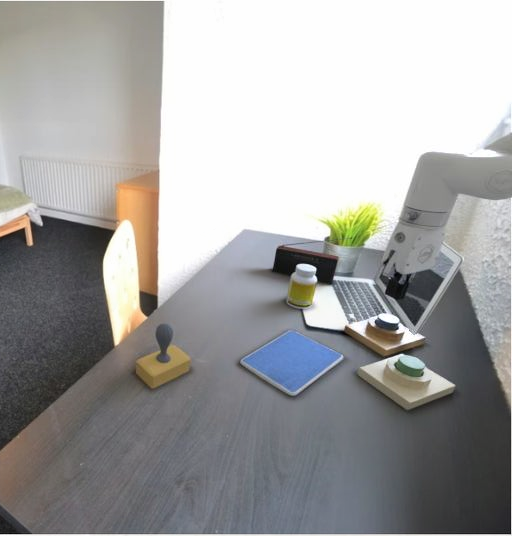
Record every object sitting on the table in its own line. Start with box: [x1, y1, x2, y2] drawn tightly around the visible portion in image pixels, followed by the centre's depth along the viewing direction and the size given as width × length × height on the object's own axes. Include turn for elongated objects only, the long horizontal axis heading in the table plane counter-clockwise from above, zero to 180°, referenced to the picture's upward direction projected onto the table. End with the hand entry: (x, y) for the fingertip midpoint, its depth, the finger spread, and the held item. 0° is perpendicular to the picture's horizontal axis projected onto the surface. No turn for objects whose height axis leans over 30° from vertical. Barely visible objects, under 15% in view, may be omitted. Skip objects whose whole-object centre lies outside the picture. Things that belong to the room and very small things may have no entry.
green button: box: [396, 354, 426, 377], centre depth 71 cm, size 4×4×2 cm
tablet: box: [240, 329, 344, 397], centre depth 79 cm, size 19×13×1 cm, turn 125°
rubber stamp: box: [135, 322, 191, 389], centre depth 75 cm, size 10×6×12 cm, turn 121°
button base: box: [343, 315, 426, 357], centre depth 85 cm, size 12×10×4 cm
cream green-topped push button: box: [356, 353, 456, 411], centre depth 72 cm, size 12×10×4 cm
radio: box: [271, 237, 353, 286], centre depth 110 cm, size 19×3×15 cm, turn 55°
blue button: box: [376, 312, 401, 331], centre depth 84 cm, size 4×4×2 cm
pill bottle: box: [285, 264, 318, 310], centre depth 98 cm, size 6×6×11 cm
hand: (393, 296), depth 81 cm, fingers closed
